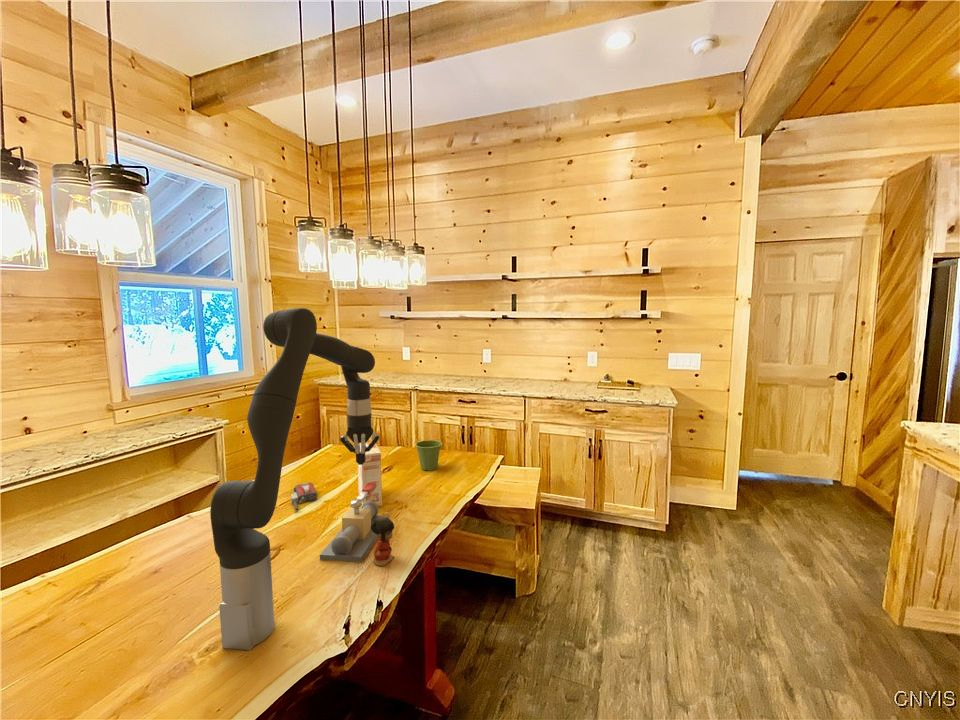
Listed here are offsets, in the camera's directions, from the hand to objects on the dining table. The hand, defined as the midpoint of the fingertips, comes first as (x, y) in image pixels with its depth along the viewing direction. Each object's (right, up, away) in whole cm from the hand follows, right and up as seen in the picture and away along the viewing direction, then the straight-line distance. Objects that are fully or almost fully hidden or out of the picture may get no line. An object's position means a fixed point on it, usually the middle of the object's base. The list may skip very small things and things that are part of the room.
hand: (360, 463), depth 136 cm
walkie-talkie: (-26, -18, +17) cm, 36 cm away
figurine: (+12, -22, -22) cm, 33 cm away
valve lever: (+2, -10, -5) cm, 11 cm away
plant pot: (+16, -14, +49) cm, 53 cm away
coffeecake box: (-2, -18, +18) cm, 25 cm away
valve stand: (+2, -20, -10) cm, 23 cm away
